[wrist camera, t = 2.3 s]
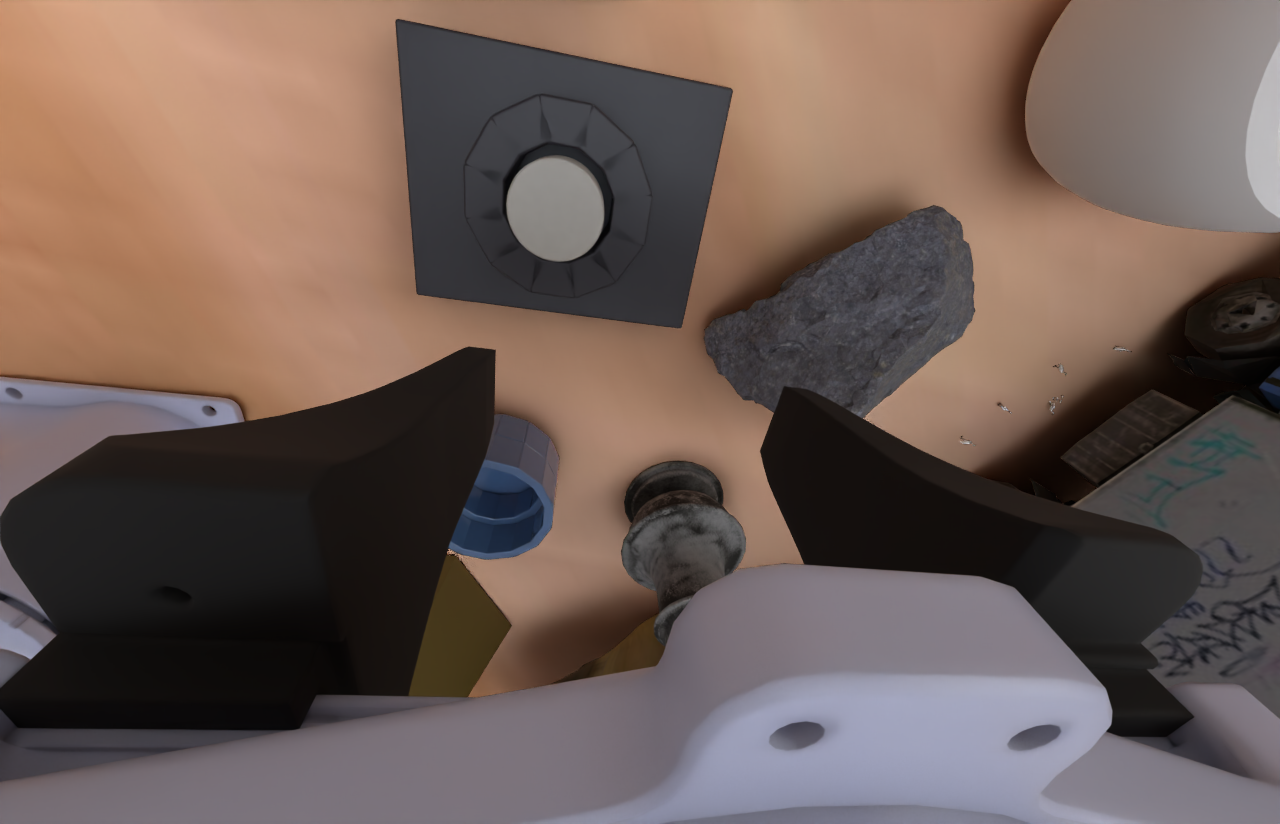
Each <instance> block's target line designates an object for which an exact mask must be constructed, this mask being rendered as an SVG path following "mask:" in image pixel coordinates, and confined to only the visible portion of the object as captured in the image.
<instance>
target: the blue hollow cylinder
mask: <svg viewBox="0 0 1280 824" xmlns="http://www.w3.org/2000/svg"><path fill="white" fill-rule="evenodd" d="M559 460H560V458H559V455H558V453H557V451H556V449H555V447H554V444H553V442H552V440H551V438H550V437H548V435H546V434H545V433H544V432H542V431H541V430H540V429H539V428H537V427H536V426H535V425H533V424H532V423H531V422H528V421H527V420H523V419H520V418H516V417H513V416H509V415H506V414H494V426H493V430H492V434H491V438H490V442H489V446H488V450H487V454H486V457H485V459H484V462H483V464H482V467H481V469H480V472H479V474H478V476H477V479H476V481H475V483H474V486H473V488H472V491H471V493H470V495H469V498H468V500H467V502H466V505H465V507H464V509H463V512H462V514H461V516H460V519H459V521H458V523H457V526H456V528H455V531H454V533H453V536H452V539H451V542H450V544H449V547H448V548H449V549H451V550H452V551H454V552H456V553H459V554H461V555H466V556H471V557H476V558H481V559H485V560H486V559H487V560H489V559H499V558H509V557H516V556H518V555H520V554H522V553H524V552H526V551H528V550H530V549H532V548H534V547H536V546H538V545H539V543H540V542H541V541H542V540H543V538H544V537H545V536H546V535H547V533H548V532H549V531H550V530H551V528H552V522H553V514H554V505H555V497H556V489H557V480H558V471H559Z"/></svg>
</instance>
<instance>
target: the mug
mask: <svg viewBox="0 0 1280 824" xmlns="http://www.w3.org/2000/svg"><path fill="white" fill-rule="evenodd" d="M1025 127H1026V134H1027V139H1028V142H1029V145H1030V148H1031V151H1032V153H1033V155H1034V156H1035V158H1036V160H1037V161H1038V163H1039V164H1040V165H1041V166H1042V167H1043V168H1044V170H1045V171H1046V172H1047V173H1048V174H1049V175H1050V176H1051V177H1052V178H1053V179H1054V180H1055V181H1056V182H1057V183H1058V184H1060V185H1062V186H1063V187H1065V188H1066V189H1068V190H1069V191H1071V192H1072V193H1074V194H1076V195H1077V196H1079V197H1081V198H1083V199H1084V200H1086V201H1088V202H1090V203H1092V204H1094V205H1097V206H1099V207H1101V208H1104V209H1106V210H1110V211H1113V212H1116V213H1119V214H1122V215H1126V216H1129V217H1133V218H1136V219H1140V220H1144V221H1149V222H1153V223H1158V224H1162V225H1167V226H1174V227H1182V228H1190V229H1198V230H1208V231H1223V232H1255V233H1278V232H1280V0H1071V2H1070V3H1069V4H1068V5H1067V7H1066V8H1065V10H1064V11H1063V13H1062V14H1061V16H1060V17H1059V19H1058V20H1057V22H1056V23H1055V25H1054V26H1053V28H1052V30H1051V32H1050V34H1049V36H1048V38H1047V39H1046V41H1045V43H1044V45H1043V47H1042V49H1041V51H1040V53H1039V56H1038V58H1037V61H1036V63H1035V66H1034V68H1033V71H1032V75H1031V78H1030V82H1029V85H1028V91H1027V97H1026V105H1025Z"/></svg>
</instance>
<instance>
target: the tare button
mask: <svg viewBox="0 0 1280 824" xmlns="http://www.w3.org/2000/svg"><path fill="white" fill-rule="evenodd" d="M506 209H507V217H508V221H509V224H510V227H511V229H512V231H513V233H514V235H515V236H516V238H517V239H518V241H519V242H520V243H521V244H522V245H523V246H524V247H525V248H526V249H527V250H528V251H529V252H531V253H532V254H534V255H536V256H538V257H540V258H542V259H545V260H549V261H555V262H564V261H570V260H573V259H576V258H578V257H580V256H582V255H584V254H585V253H586V252H588V251H589V250H590V249H591V248H592V247H593V245H594V244H595V243H596V241H597V240H598V238H599V236H600V234H601V231H602V228H603V223H604V200H603V194H602V191H601V188H600V186H599V184H598V181H597V180H596V178H595V177H594V175H593V174H592V173H591V171H590V170H589V169H588V168H587V167H585V166H584V165H583V164H582V163H580V162H578V161H577V160H575V159H572V158H570V157H566V156H562V155H549V156H544V157H542V158H539V159H537V160H535V161H533V162H531V163H529V164H527V165H526V166H525V167H524V168H522V169H521V170H520V171H519V172H518V173H517V175H516V176H515V178H514V179H513V181H512V183H511V185H510V188H509V190H508V195H507V202H506Z"/></svg>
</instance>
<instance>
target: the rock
mask: <svg viewBox="0 0 1280 824" xmlns="http://www.w3.org/2000/svg"><path fill="white" fill-rule="evenodd" d="M972 276H973V262H972V256H971V250H970V247H969V244H968V243H967V242H965V241H964V240H963V230H962V225H961V223H960V222H959V221H958V220H956V218H955V217H954V216H952V215H951V214H949V213H948V212H947V211H946V210H945V209H944V208H942V207H938V206H935V205H933V206H930V207H928V208H924V209H920V210H916V211H913V212H911V213H910V214H908V215H907V217H906V218H903V219H901V220H899V221H896V222H893V223H890V224H888V225H886V226H884V227H883V228H880V229H878V230H875V231H874V233H873V234H872V235H870V236H868V237H867V238H866V239H864V240H863V241H861V242H857V243H854V244H853V245H851V246H850V247H848V248H846V249H845V250H842V251H840V252H837V253H829V254H828V255H826V256H825V257H823V258H821V259H820V260H818V261H816V262H813V263H811V264H809V265H808V266H806V267H805V268H804V269H802V270H800V271H797V272H795V273H794V274H792V275H791V276H789V277H788V278H787V279H786V280H785V281H784V282H783V283H782V284H781V288H780V291H779V292H778V293H777V294H776V295H774V296H772V297H770V298H766V299H762V300H758V301H755V302H754V303H753V305H752V306H751V307H750V308H749V309H748V310H747V311H745V310H744V309H743V310H740V311H738V312H736V313H734V314H729V315H725V316H723V317H720V318H717V319H714V320H713V321H712V322H711V323H710V325H709V326H708V328H706V329H705V336H704V341H705V345H706V350H707V354H708V355H709V356H710V357H711V358H712V359H713V360H714V363H715V365H716V368H717V371H718V373H719V374H721V375H723V376H725V377H726V379H727V380H728V381H729V382H730V383H731V385H732V386H733V388H734V389H735V390H736V392H737V394H739V395H740V396H741V397H742V399H743V400H754V401H755V403H759V404H761V405H763V406H765V407H766V408H768V409H769V410H771V411H772V412H775V409H776V406H777V404H778V401H779V398H780V395H781V393H782V390H783V387H784V386H787V387H795V388H803V389H808V390H811V391H813V392H815V393H818V394H820V395H822V396H824V397H826V398H827V399H829V400H831V401H833V402H835V403H837V404H838V405H840V406H842V407H844V408H845V409H847V410H849V411H851V412H852V413H854V414H856V415H857V416H859V417H861V418H864V417H865V416H866V415H867V414H868V413H869V412H870V411H871V410H872V409H873V408H874V407H875V406H877V405H878V404H879V403H880V402H881V401H882V400H883V399H884V398H886V397H887V396H889V395H891V394H892V393H893V392H894V391H895V390H896V389H897V388H898V387H899V386H900V385H901V384H902V383H904V382H905V381H906V380H907V379H908V378H909V377H911V376H912V375H913V374H914V373H916V372H917V371H918V370H919V369H920V368H921V367H923V366H924V365H925V364H926V363H927V362H928V361H929V360H930V359H931V358H932V357H933V356H935V355H936V354H937V353H938V352H940V351H941V350H942V349H944V348H945V347H947V346H949V345H950V344H952V343H953V342H955V341H956V340H958V339H959V338H960V337H962V335H963V333H964V331H965V329H966V327H967V326H968V324H969V323H970V322H971V321H972V318H973V315H974V312H975V308H974V300H973V294H974V282H973V280H972Z"/></svg>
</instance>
